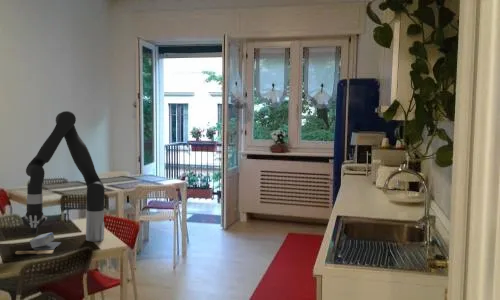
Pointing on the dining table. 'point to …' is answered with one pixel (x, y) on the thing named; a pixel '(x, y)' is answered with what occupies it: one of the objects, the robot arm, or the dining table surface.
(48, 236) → the medicine box
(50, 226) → the dining table surface
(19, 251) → the wooden turner
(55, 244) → the rubber mat
